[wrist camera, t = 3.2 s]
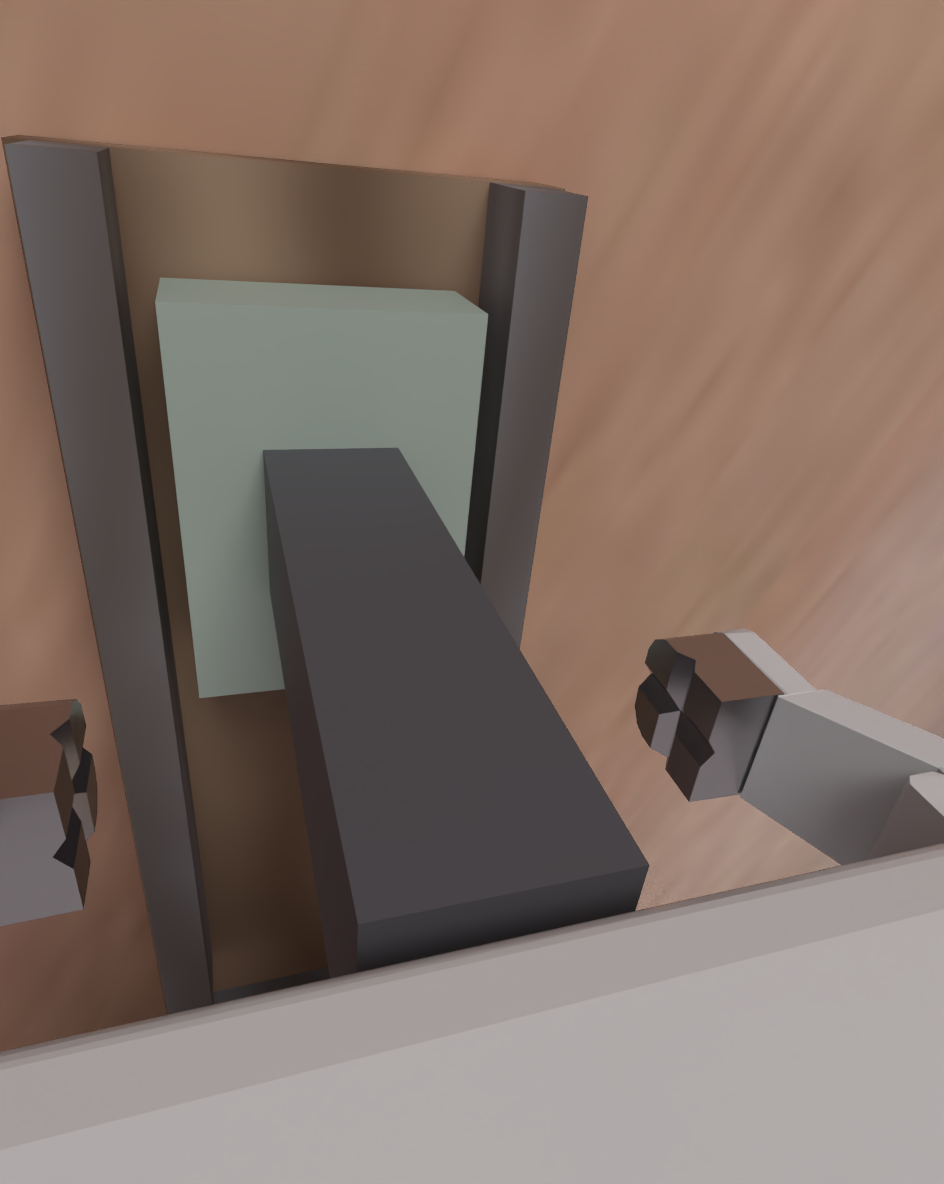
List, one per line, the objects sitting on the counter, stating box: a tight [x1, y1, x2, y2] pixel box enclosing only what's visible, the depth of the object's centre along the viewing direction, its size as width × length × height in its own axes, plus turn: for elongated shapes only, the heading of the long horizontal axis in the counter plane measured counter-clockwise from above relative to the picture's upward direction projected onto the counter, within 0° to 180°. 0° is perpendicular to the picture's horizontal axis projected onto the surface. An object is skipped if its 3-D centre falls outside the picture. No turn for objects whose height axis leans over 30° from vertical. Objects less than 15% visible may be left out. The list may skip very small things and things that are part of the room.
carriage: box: [155, 278, 649, 979], centre depth 12 cm, size 6×8×12 cm
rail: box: [1, 135, 588, 1015], centre depth 18 cm, size 10×32×12 cm, turn 175°
